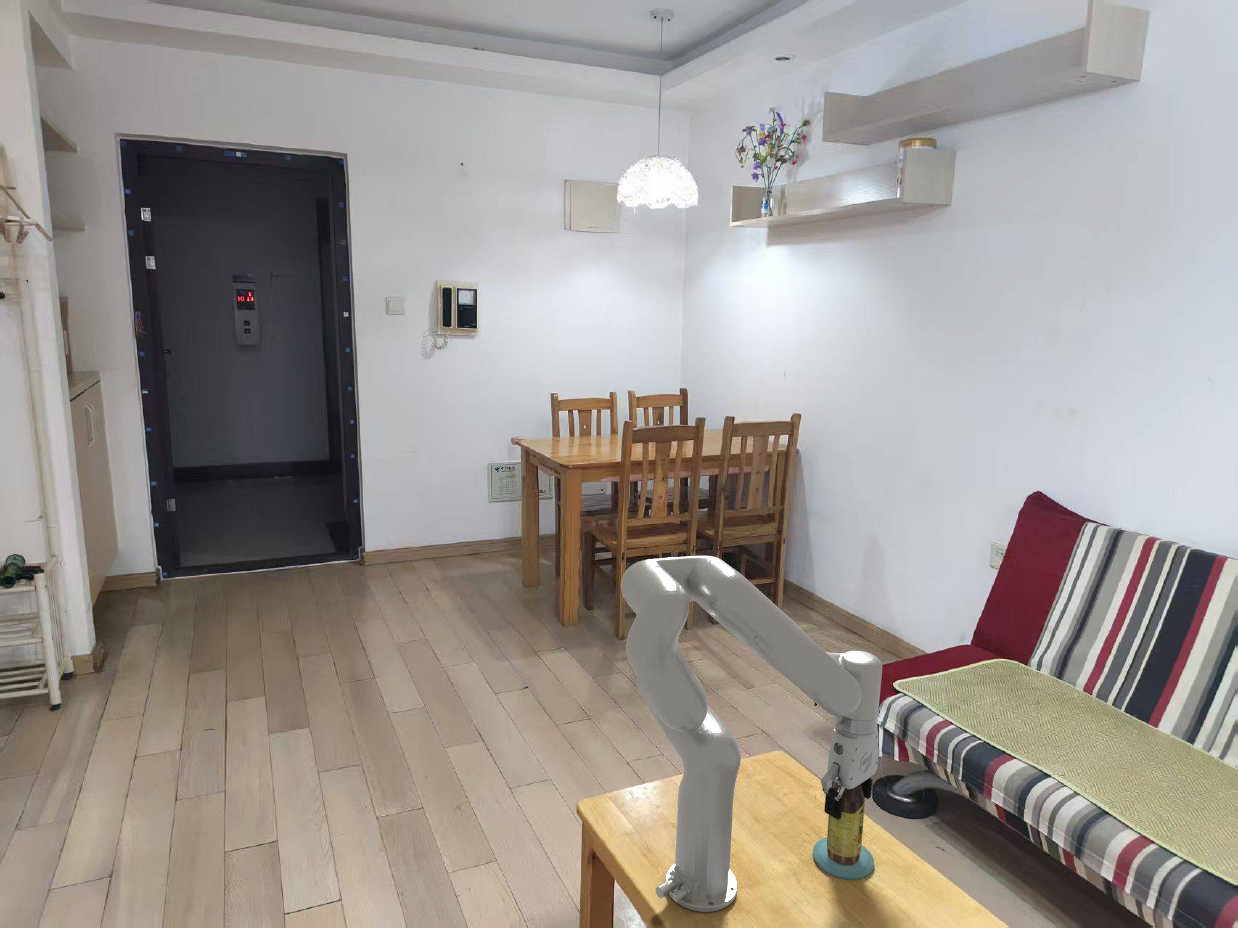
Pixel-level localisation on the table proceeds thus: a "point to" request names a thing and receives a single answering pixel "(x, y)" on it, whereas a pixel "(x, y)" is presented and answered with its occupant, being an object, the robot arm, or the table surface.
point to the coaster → (842, 870)
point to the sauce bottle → (847, 827)
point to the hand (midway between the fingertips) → (847, 805)
